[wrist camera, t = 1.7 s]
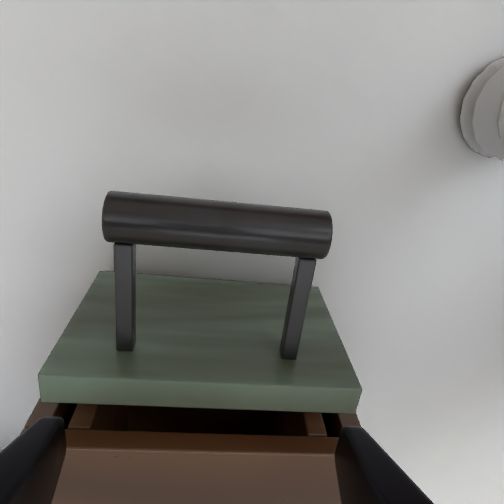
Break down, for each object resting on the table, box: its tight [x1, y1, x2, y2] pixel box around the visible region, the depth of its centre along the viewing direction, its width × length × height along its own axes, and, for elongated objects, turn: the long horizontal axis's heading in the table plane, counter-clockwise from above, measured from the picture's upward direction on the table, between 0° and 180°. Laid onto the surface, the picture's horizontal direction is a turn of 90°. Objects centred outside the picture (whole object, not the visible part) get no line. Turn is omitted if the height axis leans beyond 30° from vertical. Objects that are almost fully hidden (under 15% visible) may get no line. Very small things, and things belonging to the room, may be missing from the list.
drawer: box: [38, 191, 362, 437], centre depth 18 cm, size 19×11×7 cm, turn 173°
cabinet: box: [20, 397, 361, 504], centre depth 21 cm, size 15×12×9 cm
